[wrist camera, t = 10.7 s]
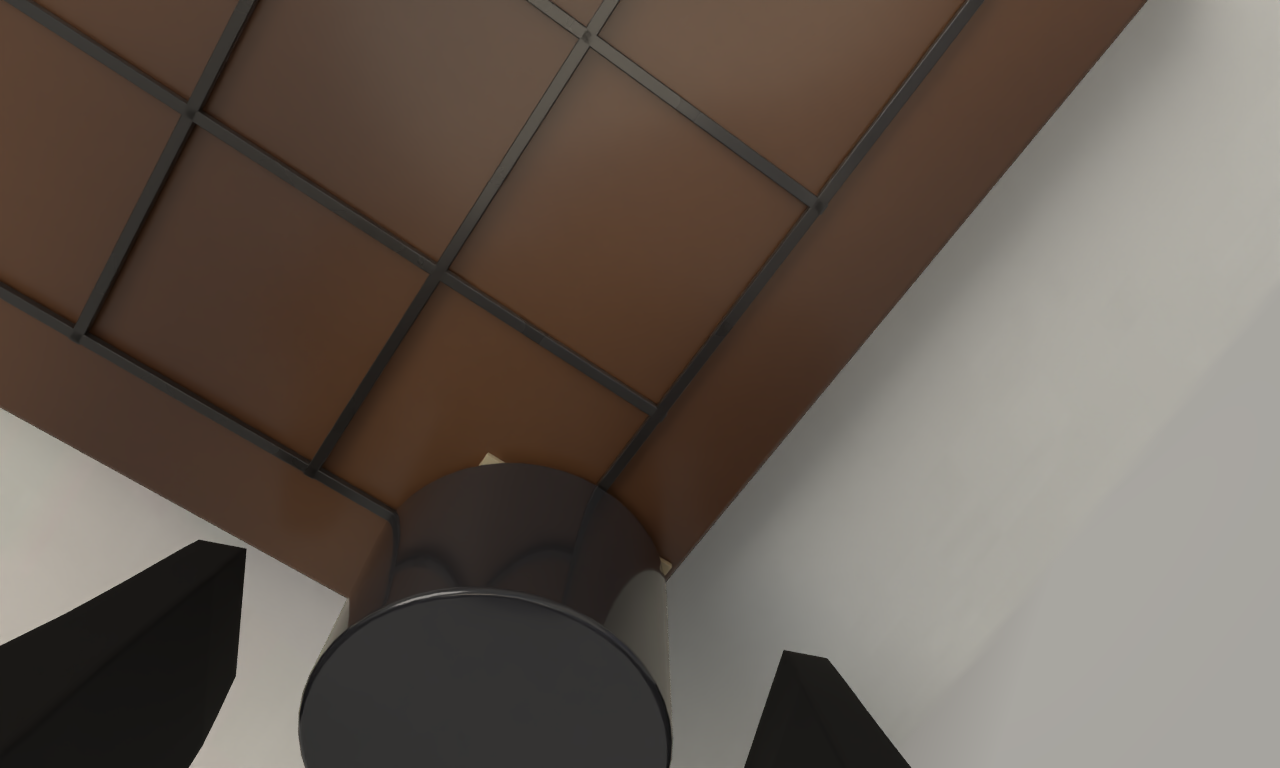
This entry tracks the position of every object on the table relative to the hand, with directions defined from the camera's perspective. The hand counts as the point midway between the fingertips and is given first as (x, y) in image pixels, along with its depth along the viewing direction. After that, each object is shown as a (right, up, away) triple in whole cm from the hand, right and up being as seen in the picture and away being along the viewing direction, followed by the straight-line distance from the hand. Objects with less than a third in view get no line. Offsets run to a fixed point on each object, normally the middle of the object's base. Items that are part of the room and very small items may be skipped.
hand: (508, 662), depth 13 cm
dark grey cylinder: (0, +1, +2) cm, 2 cm away
